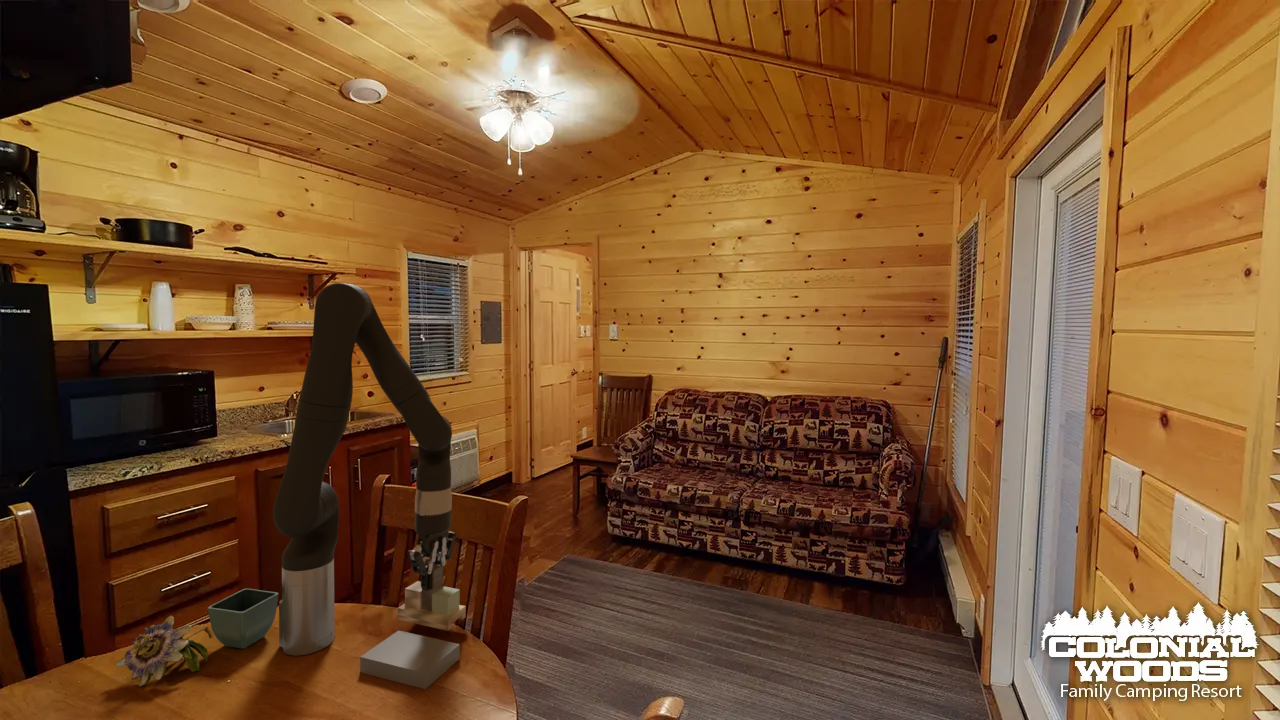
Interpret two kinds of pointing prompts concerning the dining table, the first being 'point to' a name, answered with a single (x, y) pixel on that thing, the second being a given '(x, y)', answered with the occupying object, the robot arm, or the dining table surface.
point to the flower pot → (243, 617)
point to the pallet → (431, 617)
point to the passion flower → (162, 651)
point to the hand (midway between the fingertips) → (432, 585)
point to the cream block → (414, 596)
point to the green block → (445, 601)
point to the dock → (410, 659)
